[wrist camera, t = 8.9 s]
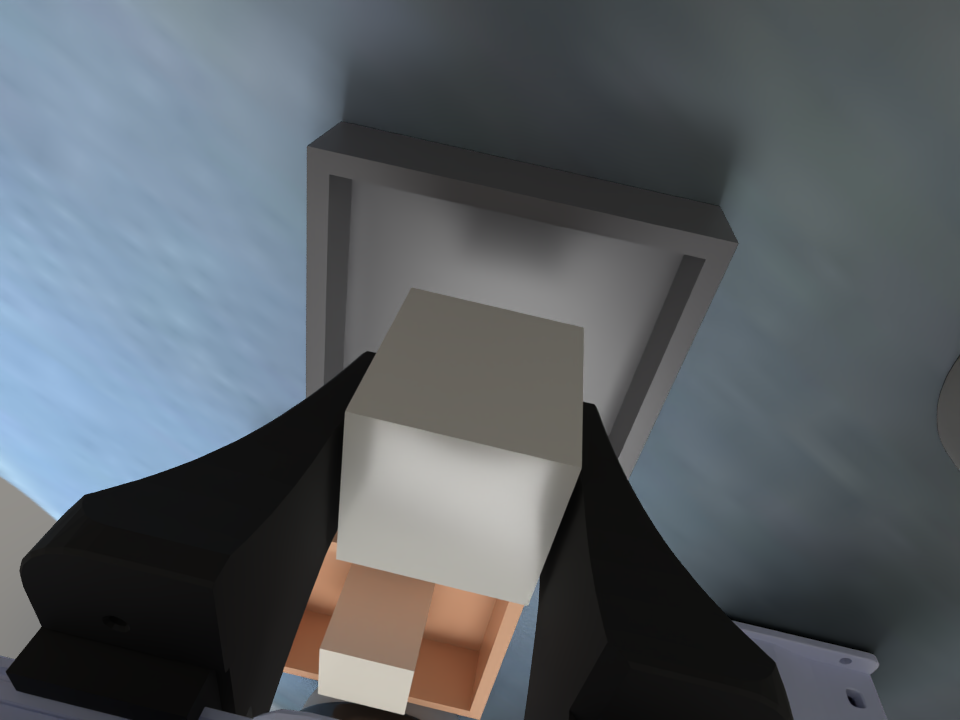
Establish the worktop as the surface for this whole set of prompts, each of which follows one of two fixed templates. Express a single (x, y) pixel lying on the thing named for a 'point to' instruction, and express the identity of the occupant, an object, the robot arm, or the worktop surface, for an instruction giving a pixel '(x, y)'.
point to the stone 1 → (374, 639)
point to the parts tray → (509, 261)
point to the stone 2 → (463, 446)
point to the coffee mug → (950, 414)
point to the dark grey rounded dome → (369, 710)
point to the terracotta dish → (423, 641)
